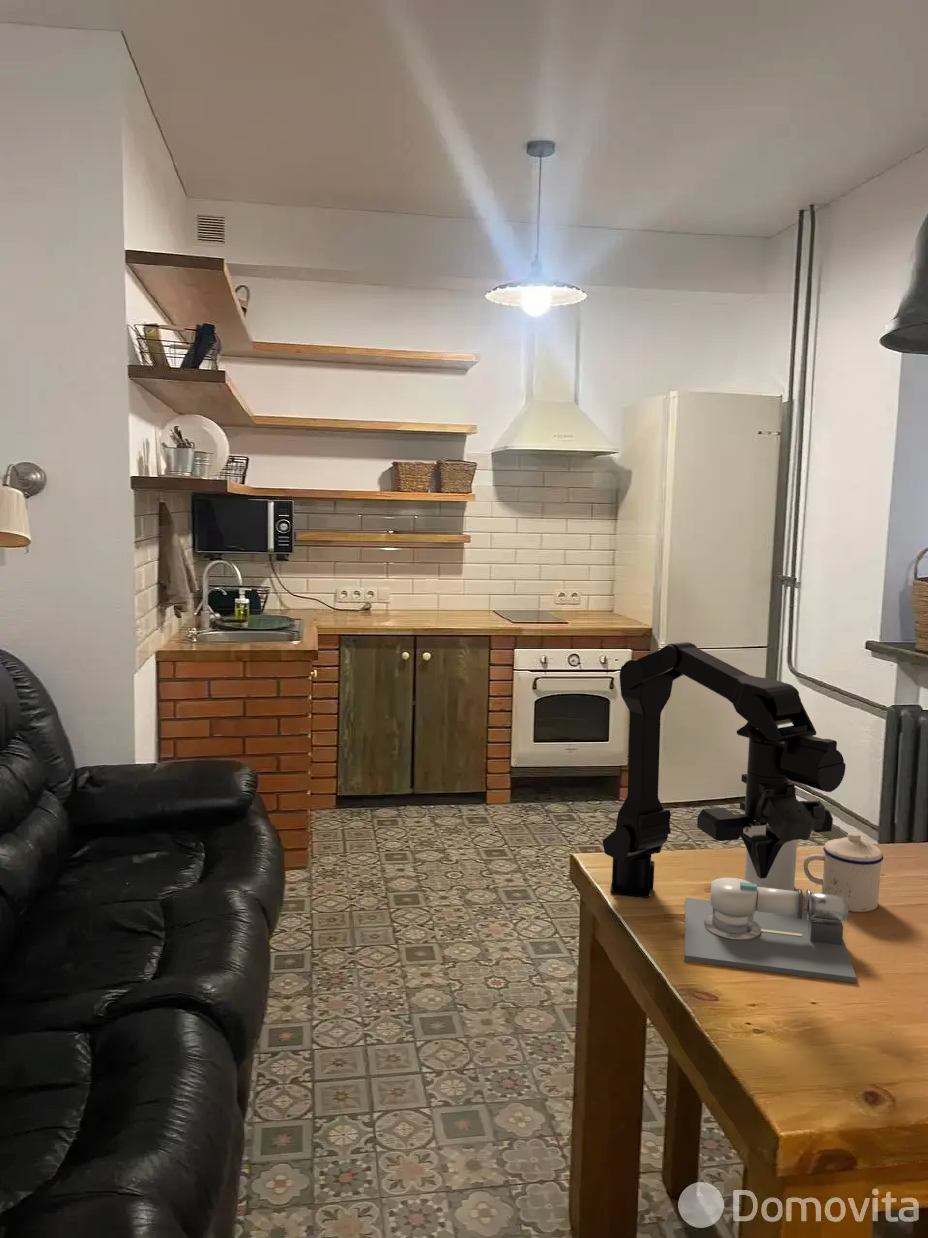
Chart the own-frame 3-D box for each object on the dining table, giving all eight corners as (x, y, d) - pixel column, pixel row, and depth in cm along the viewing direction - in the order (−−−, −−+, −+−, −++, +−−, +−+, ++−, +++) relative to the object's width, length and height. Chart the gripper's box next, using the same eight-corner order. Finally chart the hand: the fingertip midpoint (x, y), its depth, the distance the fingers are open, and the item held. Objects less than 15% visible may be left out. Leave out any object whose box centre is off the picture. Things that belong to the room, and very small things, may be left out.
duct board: (684, 960, 132) (684, 954, 132) (685, 902, 151) (685, 896, 151) (856, 983, 127) (856, 976, 127) (834, 919, 146) (834, 914, 146)
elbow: (710, 916, 138) (711, 888, 138) (710, 898, 145) (711, 871, 144) (802, 928, 135) (804, 899, 134) (798, 908, 141) (799, 881, 141)
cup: (787, 877, 162) (791, 811, 161) (799, 896, 154) (804, 827, 153) (740, 874, 163) (744, 809, 162) (749, 894, 155) (753, 825, 154)
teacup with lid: (876, 894, 156) (881, 828, 154) (882, 917, 147) (887, 847, 146) (800, 884, 159) (805, 819, 158) (802, 906, 151) (807, 837, 149)
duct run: (806, 943, 136) (810, 896, 135) (803, 929, 141) (806, 884, 140) (846, 947, 135) (849, 901, 134) (841, 934, 139) (844, 888, 138)
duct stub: (704, 936, 138) (705, 916, 138) (703, 912, 146) (704, 893, 146) (762, 943, 136) (764, 923, 136) (758, 918, 144) (760, 899, 144)
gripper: (741, 794, 120) (734, 908, 122) (862, 785, 125) (854, 894, 127) (698, 769, 131) (692, 874, 133) (811, 762, 136) (804, 863, 138)
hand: (761, 877), depth 133 cm, fingers closed
